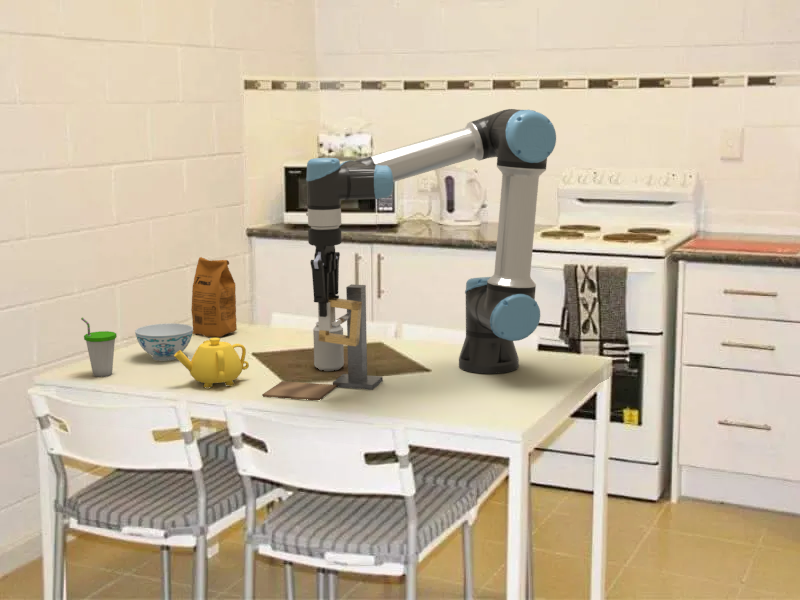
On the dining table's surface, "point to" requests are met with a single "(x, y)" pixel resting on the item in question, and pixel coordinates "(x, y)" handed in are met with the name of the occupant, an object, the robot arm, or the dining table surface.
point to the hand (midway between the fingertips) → (327, 328)
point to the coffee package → (213, 299)
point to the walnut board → (299, 390)
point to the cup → (100, 351)
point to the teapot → (215, 362)
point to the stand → (356, 347)
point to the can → (328, 351)
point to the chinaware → (164, 339)
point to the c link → (354, 325)
